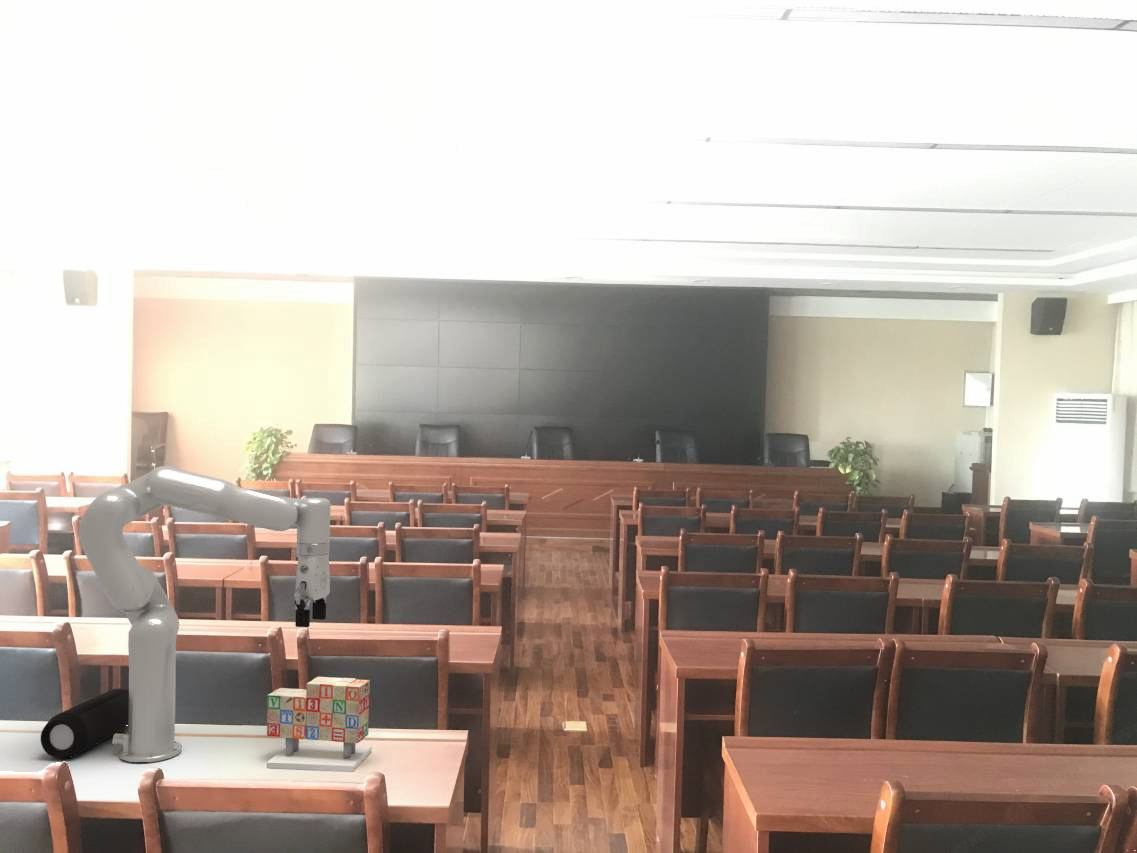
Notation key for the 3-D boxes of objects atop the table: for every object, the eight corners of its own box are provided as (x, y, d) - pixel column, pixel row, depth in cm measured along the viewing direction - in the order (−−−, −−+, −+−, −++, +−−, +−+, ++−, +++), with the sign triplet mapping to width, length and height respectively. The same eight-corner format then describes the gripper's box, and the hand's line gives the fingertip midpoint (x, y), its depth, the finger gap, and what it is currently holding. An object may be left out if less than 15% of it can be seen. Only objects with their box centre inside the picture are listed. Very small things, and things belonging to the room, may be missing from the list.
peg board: (266, 768, 197) (267, 743, 198) (290, 748, 210) (290, 725, 211) (353, 771, 196) (353, 747, 196) (371, 751, 209) (371, 728, 209)
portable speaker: (104, 726, 226) (105, 685, 226) (143, 727, 225) (144, 686, 225) (36, 761, 201) (37, 715, 201) (79, 763, 200) (80, 716, 200)
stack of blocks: (265, 737, 202) (266, 680, 202) (279, 728, 208) (280, 674, 208) (358, 743, 198) (359, 686, 199) (369, 734, 204) (370, 678, 205)
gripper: (313, 554, 209) (311, 630, 208) (341, 547, 226) (339, 617, 225) (282, 553, 209) (279, 629, 209) (312, 546, 227) (310, 615, 226)
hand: (310, 622), depth 217 cm, fingers open, 9 cm apart
